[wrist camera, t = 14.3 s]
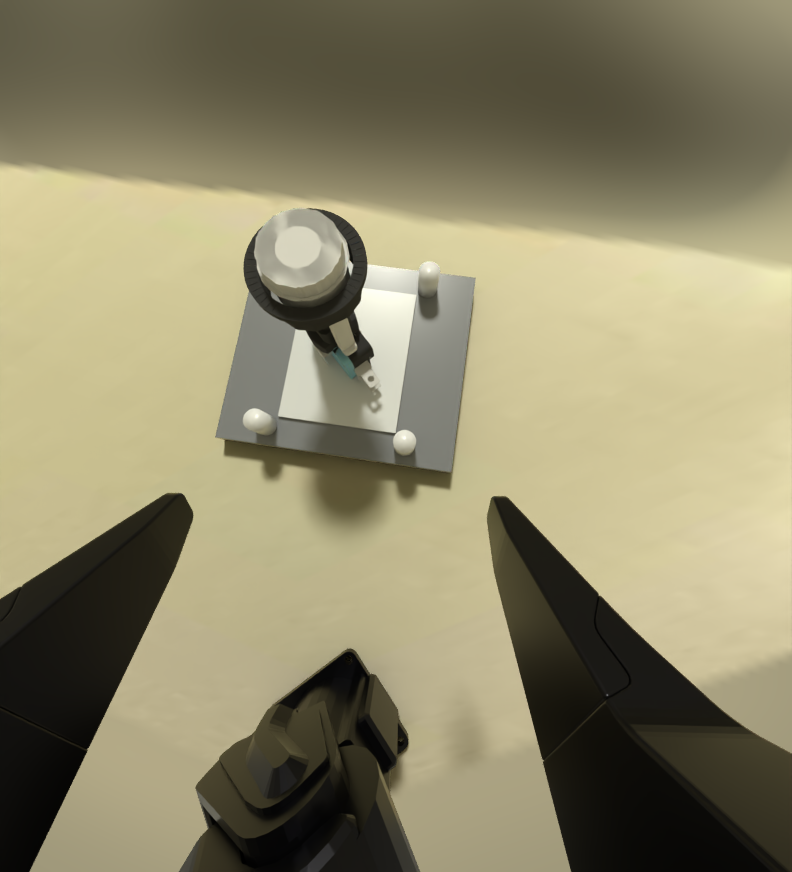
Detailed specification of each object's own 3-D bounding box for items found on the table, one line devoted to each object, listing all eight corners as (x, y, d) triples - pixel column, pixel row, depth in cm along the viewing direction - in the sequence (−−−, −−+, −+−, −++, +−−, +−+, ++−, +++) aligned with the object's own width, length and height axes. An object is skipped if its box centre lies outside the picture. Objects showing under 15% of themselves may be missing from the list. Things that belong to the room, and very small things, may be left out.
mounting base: (449, 472, 24) (456, 470, 20) (224, 439, 24) (197, 432, 21) (472, 287, 26) (481, 259, 22) (264, 261, 26) (246, 230, 23)
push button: (407, 368, 23) (411, 281, 13) (344, 415, 23) (300, 360, 13) (349, 298, 24) (313, 166, 14) (288, 341, 24) (206, 237, 14)
